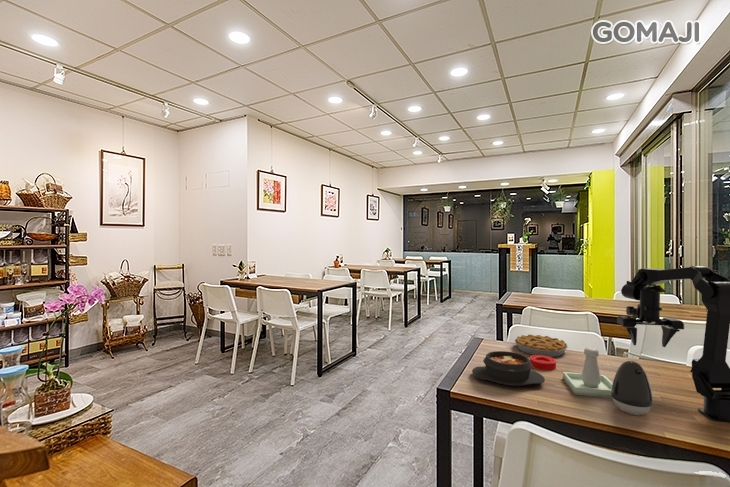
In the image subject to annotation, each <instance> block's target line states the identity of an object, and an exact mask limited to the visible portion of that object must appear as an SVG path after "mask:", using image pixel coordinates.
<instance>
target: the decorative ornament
mask: <svg viewBox="0 0 730 487" xmlns="http://www.w3.org/2000/svg"><path fill="white" fill-rule="evenodd" d="M529 360H530V363H531V364H532V366H533V368H534V369H537V370H542V371H553V370H554V371H555V370H556V369H557V361H556V359H555V358H553V357H548V356H544V355H533V354H532V355H530V357H529Z"/></svg>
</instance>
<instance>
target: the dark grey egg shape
mask: <svg viewBox="0 0 730 487" xmlns="http://www.w3.org/2000/svg"><path fill="white" fill-rule="evenodd" d="M613 377H614V378H613V381H612V383H613V384H612V389H611V396H612V397H613V398H612V400H613V402H614V405H615V406H616V407H617V408H618V409H620V410H621V411H622V412H624V413H627V414H629V415H634V416H641V415H642V416H643V415H645V414H647V413H648V412H650V410H651V409H652V406H653V405H654V398H653V391H652V387H651V384H650V380H649V378H648V375H647V373H646V371H645V370H644V367H642V365H641V364H640V363H638V362H636V361H634V360H626V361H623V362H622V363H621V365H619V367H618V368H617V370H616V372H615V375H614V376H613Z"/></svg>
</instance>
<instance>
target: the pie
mask: <svg viewBox="0 0 730 487" xmlns="http://www.w3.org/2000/svg"><path fill="white" fill-rule="evenodd" d="M514 342H515V344H516V346H517V347H518V350H519V351H521V350H522V351H521V352H523V353H527V354H530V355H532V356H533V355H544V356H548V357H551V358H553V357H554V356H555V357H559V356H562V355H563V354H564V352H565V351H566V350H567V348H569V346H568V344H567V343H566V342H565V341H564V340H563V339H559V338H554V337H550V336H548V335H545V336H542V335H540V334H539V335H534V334H527V335H524V334H523V335H522V334H521V335H520V336H517V337H516V338H515V340H514Z"/></svg>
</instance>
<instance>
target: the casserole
mask: <svg viewBox="0 0 730 487" xmlns="http://www.w3.org/2000/svg"><path fill="white" fill-rule="evenodd" d="M483 363H484V365H483V366H475V367H474V368H472V371H471V372H472V374H473V376H474V377H475V378H477V379H479V380H482V381H483V380H484V381H489V382H493V383H497V384H500V385H503V386H511V387H516V386H517V387H518V386H527V385H528V386H529V385H540V384H543V383H545V379H546V378H545V377H544V376H543V375H542V374H541V373H539V372H538V371H536V370H533V368H534V367H533V366H532V364H531V363H530V358H528V357H527V356H526V355H523V354H521V353H516V352H512V351H503V350H498V351H497V350H495V351H489V352H488V353H486V354H485V357H484V358H483Z"/></svg>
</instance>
